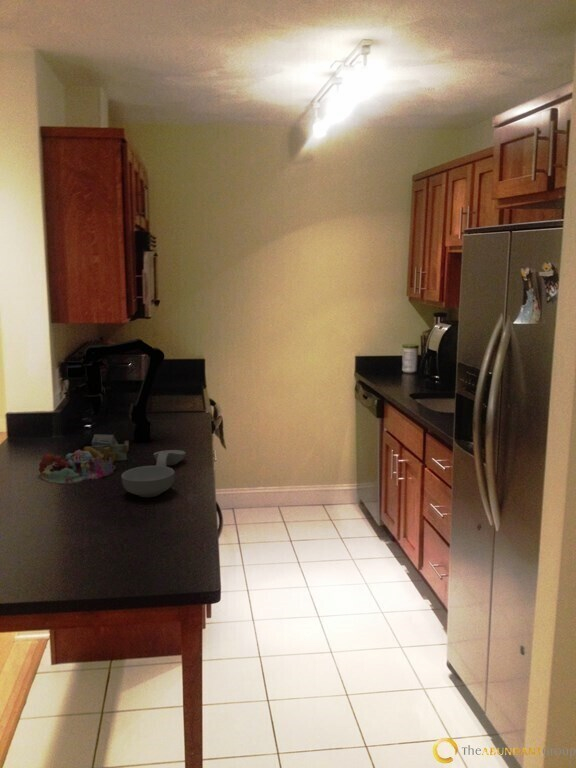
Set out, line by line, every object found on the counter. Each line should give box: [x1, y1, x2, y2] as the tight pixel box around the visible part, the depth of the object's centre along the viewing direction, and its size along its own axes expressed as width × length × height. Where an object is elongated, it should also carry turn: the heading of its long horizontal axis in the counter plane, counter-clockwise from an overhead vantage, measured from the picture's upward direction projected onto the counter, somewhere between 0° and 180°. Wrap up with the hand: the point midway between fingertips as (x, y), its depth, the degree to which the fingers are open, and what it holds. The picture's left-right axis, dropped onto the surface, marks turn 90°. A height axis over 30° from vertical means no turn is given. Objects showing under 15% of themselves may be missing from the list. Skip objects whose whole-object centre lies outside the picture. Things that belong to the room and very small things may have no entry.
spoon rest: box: [153, 449, 186, 467], centre depth 253 cm, size 24×12×7 cm, turn 0°
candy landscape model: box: [38, 445, 117, 485], centre depth 247 cm, size 25×24×9 cm
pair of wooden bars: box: [90, 440, 130, 462], centre depth 269 cm, size 13×18×6 cm
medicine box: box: [90, 433, 120, 446], centre depth 266 cm, size 8×4×9 cm
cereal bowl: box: [121, 465, 176, 498], centre depth 226 cm, size 17×17×7 cm
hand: (96, 414), depth 281 cm, fingers closed
